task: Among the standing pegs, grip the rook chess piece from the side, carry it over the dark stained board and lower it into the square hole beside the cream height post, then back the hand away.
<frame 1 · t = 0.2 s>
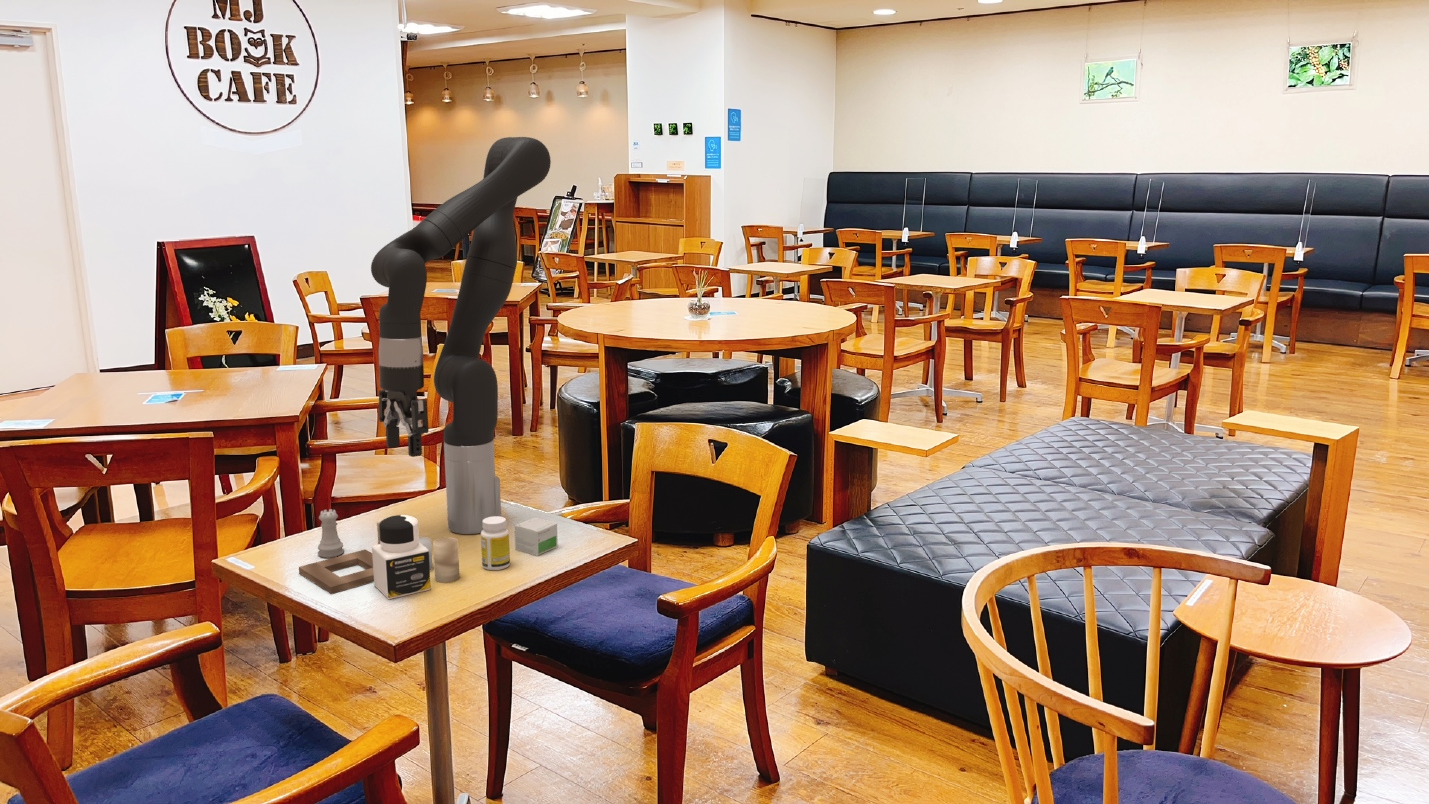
hand: (404, 451, 184), 18 cm above the table, tool pointing down, fingers open, 8 cm apart
supplement bottle: (496, 566, 178), on the table
short grey peg: (420, 568, 176), on the table
medium beech peg: (447, 578, 172), on the table
rook chess piece: (331, 555, 183), on the table
hole board: (349, 573, 174), on the table
medicine bottle: (402, 589, 168), on the table
small box: (536, 550, 186), on the table
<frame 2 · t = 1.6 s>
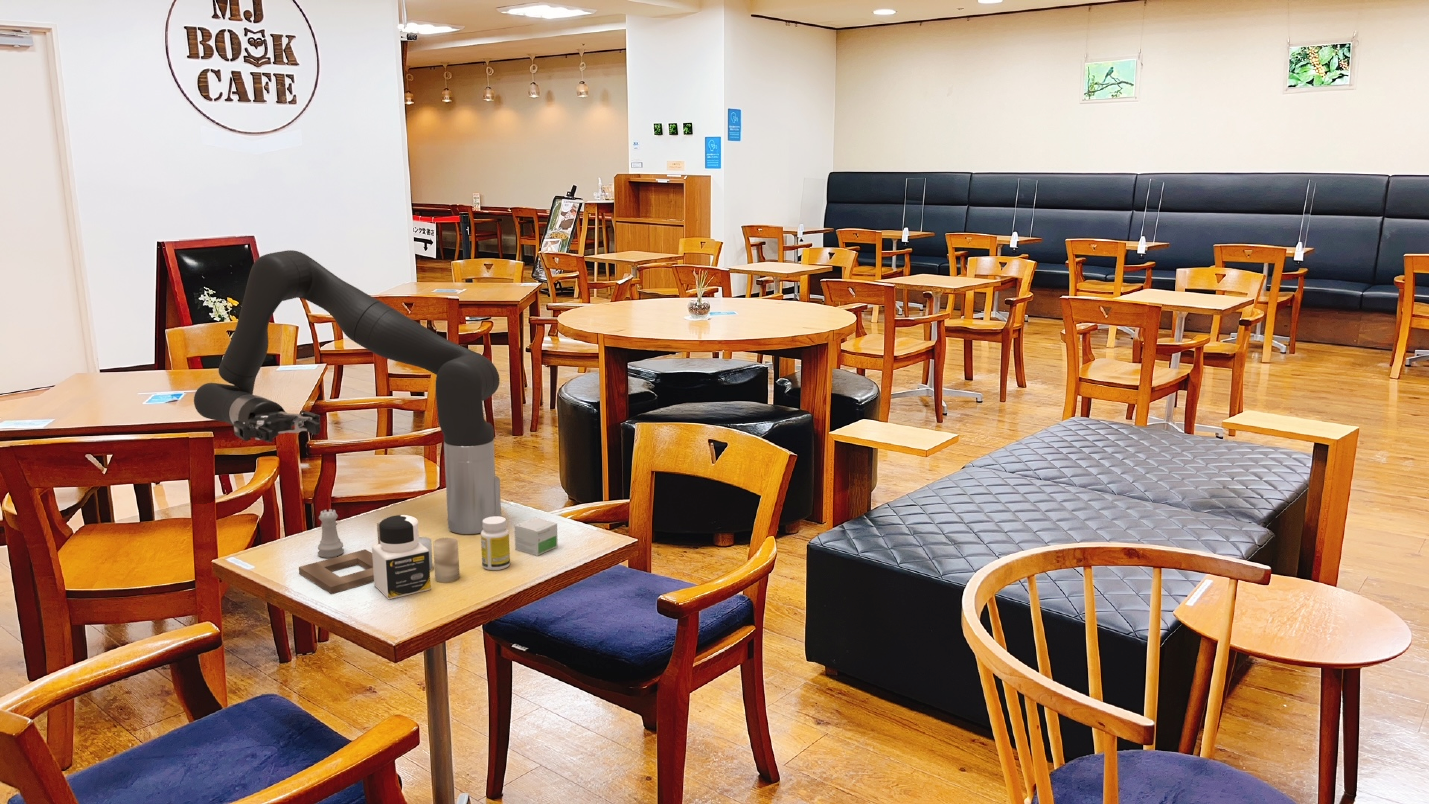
hand: (294, 432, 185), 20 cm above the table, tool horizontal, fingers open, 8 cm apart
nothing on the table moved.
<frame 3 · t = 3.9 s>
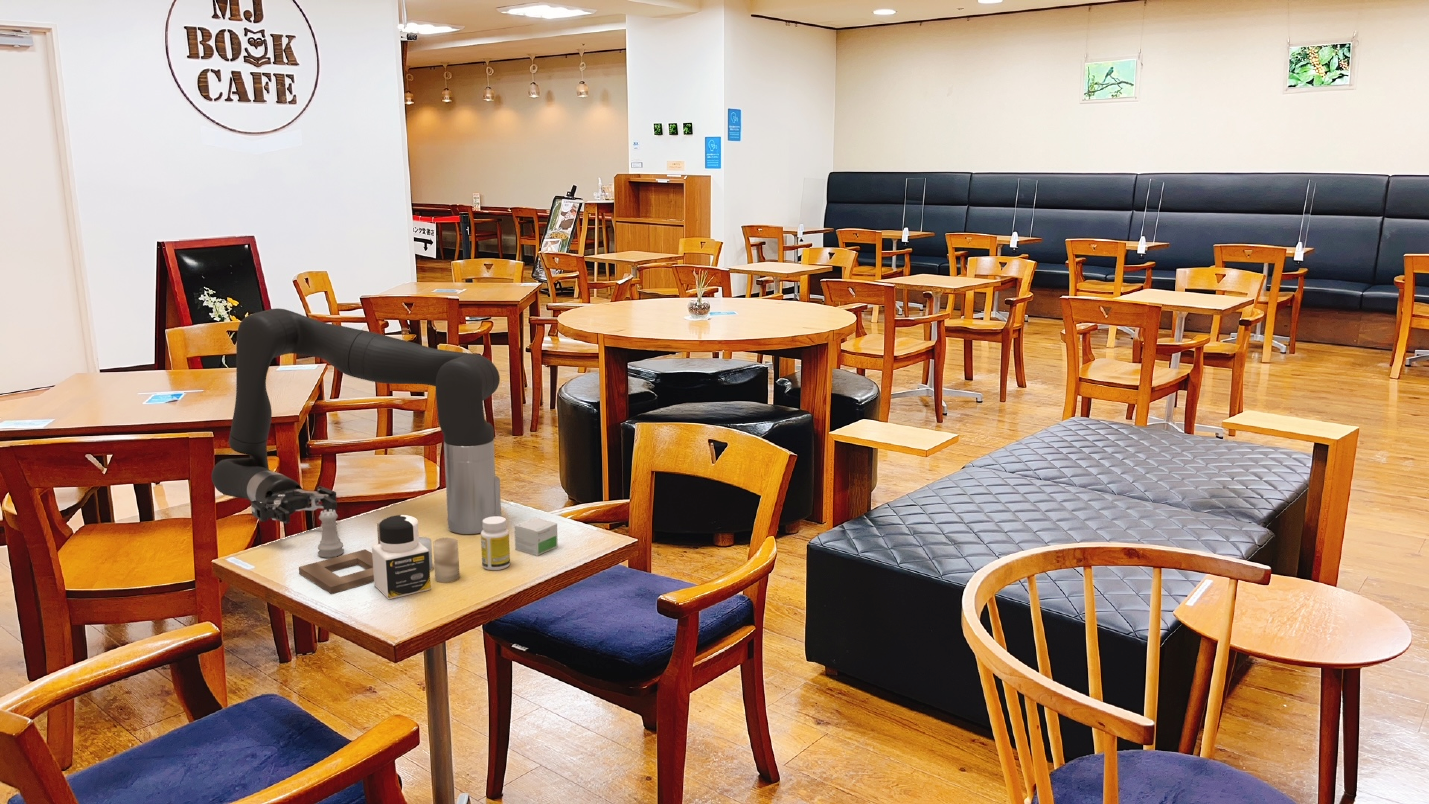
hand: (311, 512, 186), 6 cm above the table, tool horizontal, fingers open, 8 cm apart
nothing on the table moved.
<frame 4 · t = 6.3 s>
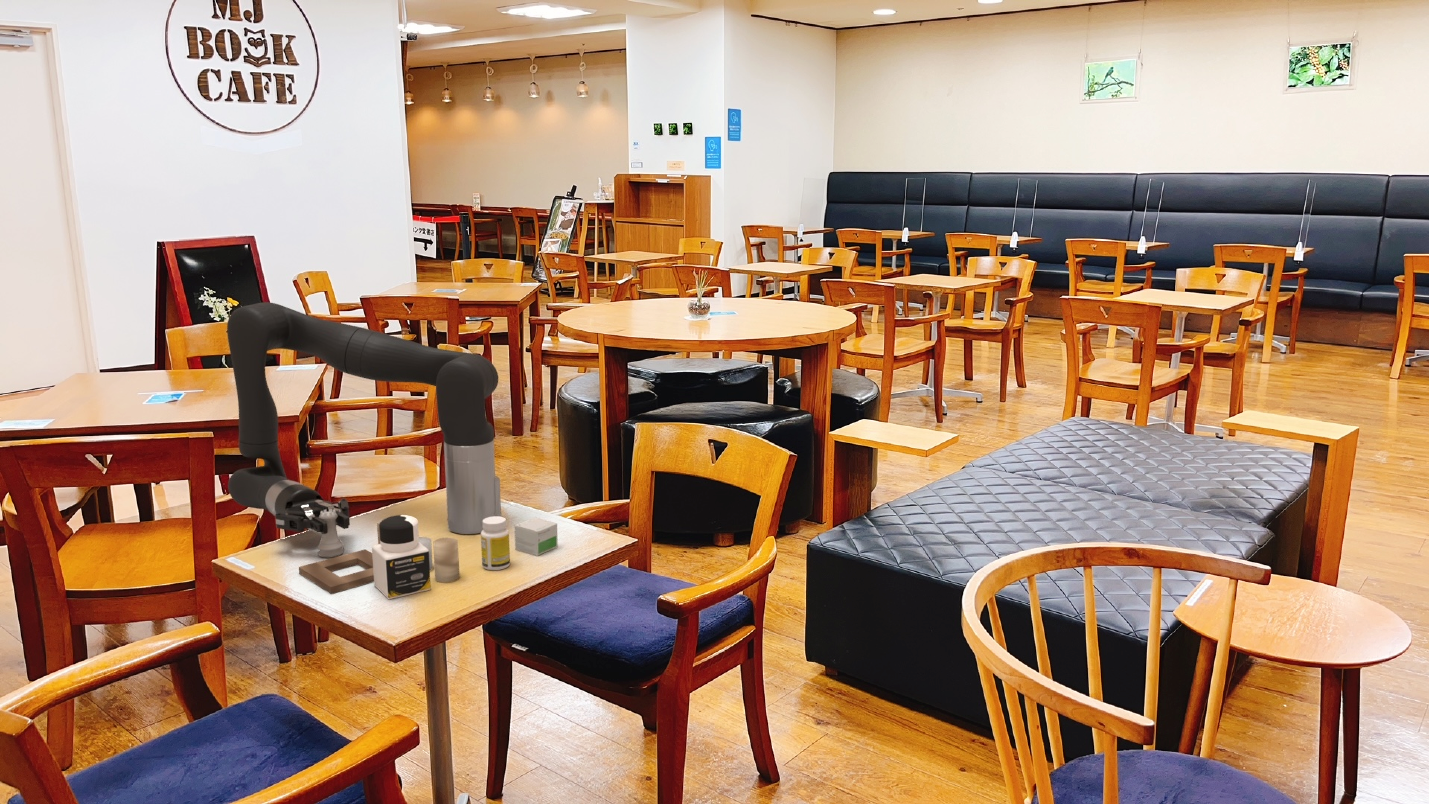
hand: (336, 525, 179), 6 cm above the table, tool horizontal, fingers closed on rook chess piece, 3 cm apart
rook chess piece: (331, 555, 183), on the table, touching gripper
everything else where it was.
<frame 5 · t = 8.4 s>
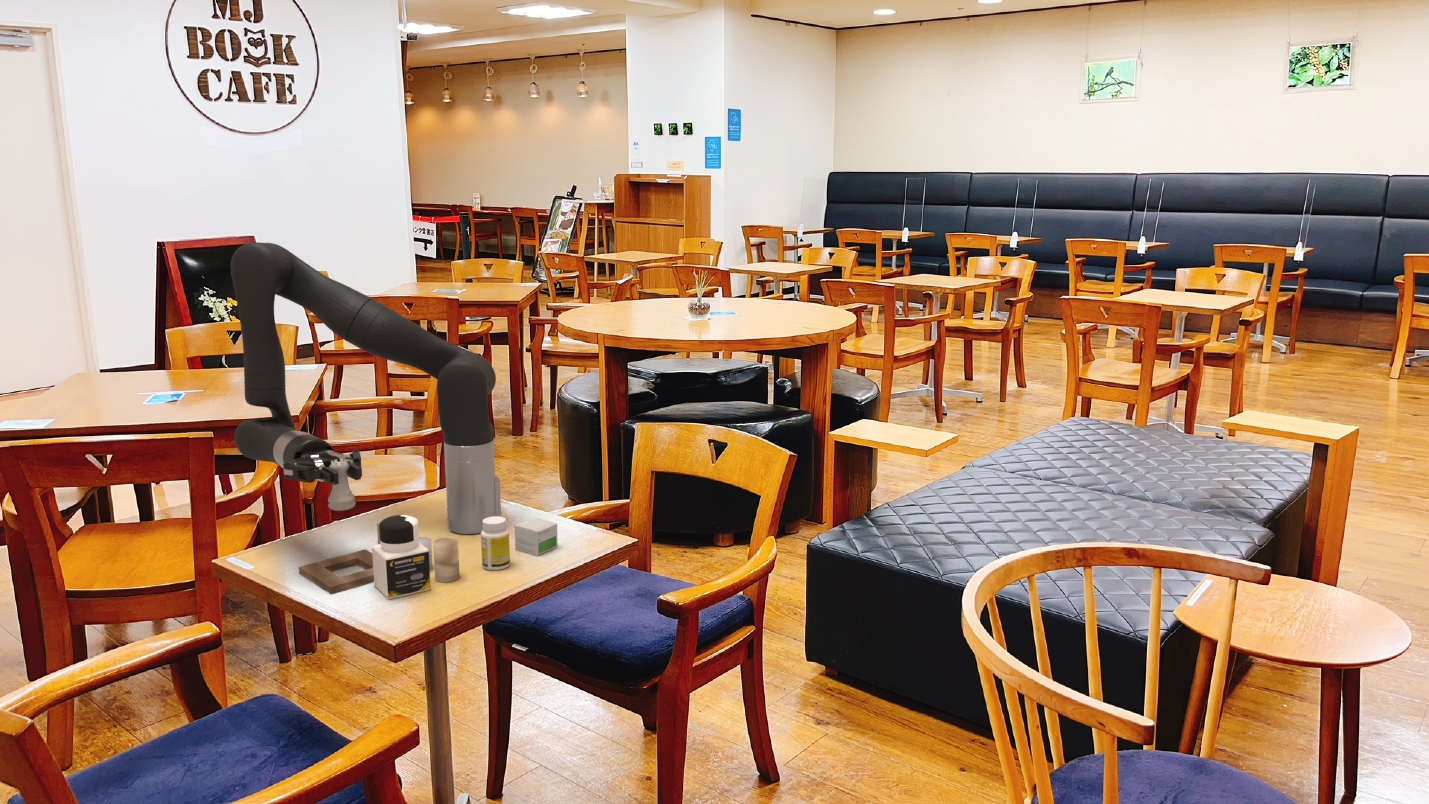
hand: (347, 476, 168), 18 cm above the table, tool horizontal, fingers closed on rook chess piece, 3 cm apart
rook chess piece: (342, 508, 172), point 11 cm above the table, touching gripper
everything else where it was.
when the fingers open (7 cm above the table, at t = 10.8 s): rook chess piece stays where it is, resting in hole board.
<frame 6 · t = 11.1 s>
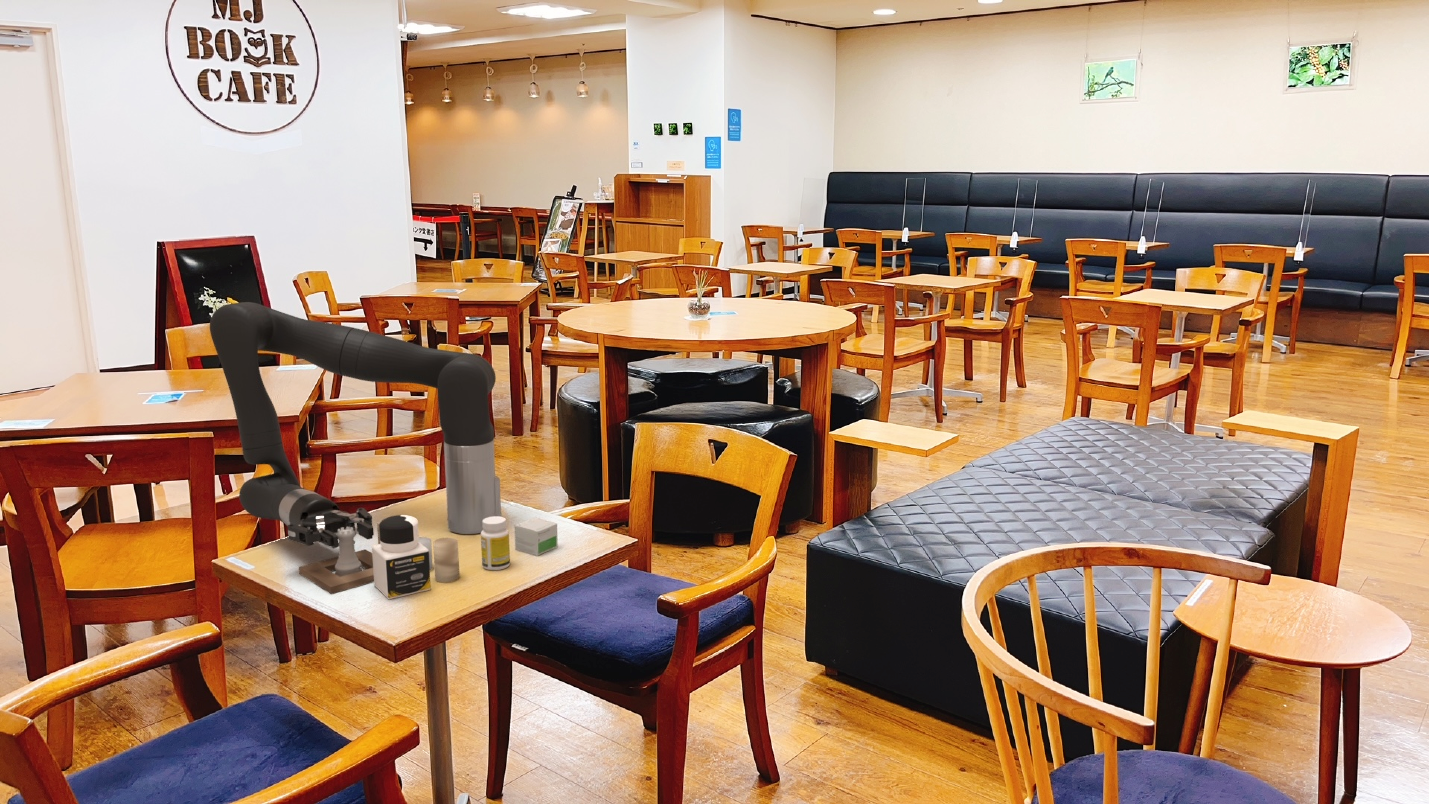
hand: (353, 537, 170), 7 cm above the table, tool horizontal, fingers open, 5 cm apart
rook chess piece: (348, 575, 174), resting in hole board
everything else where it was.
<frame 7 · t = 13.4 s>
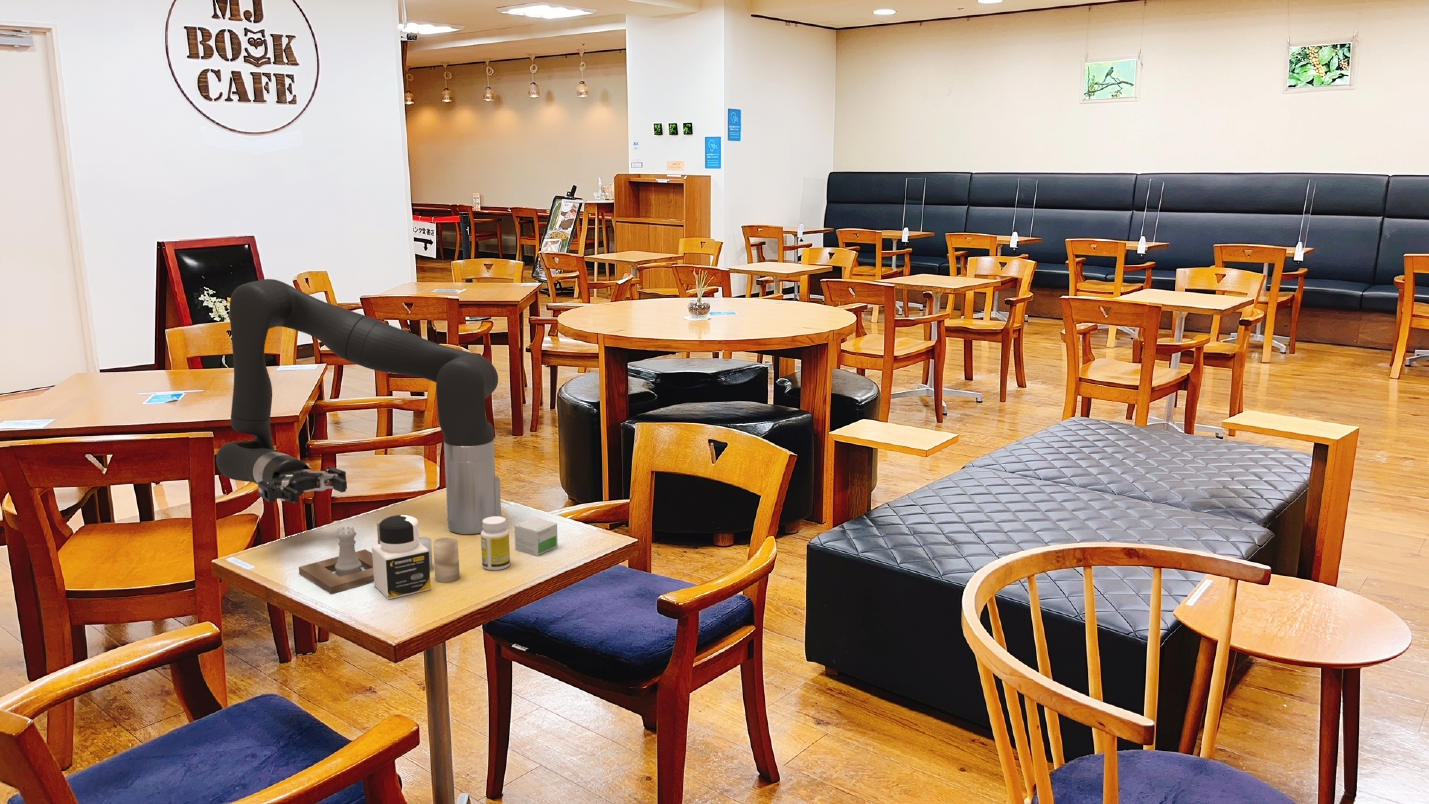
hand: (320, 492, 180), 12 cm above the table, tool horizontal, fingers open, 8 cm apart
nothing on the table moved.
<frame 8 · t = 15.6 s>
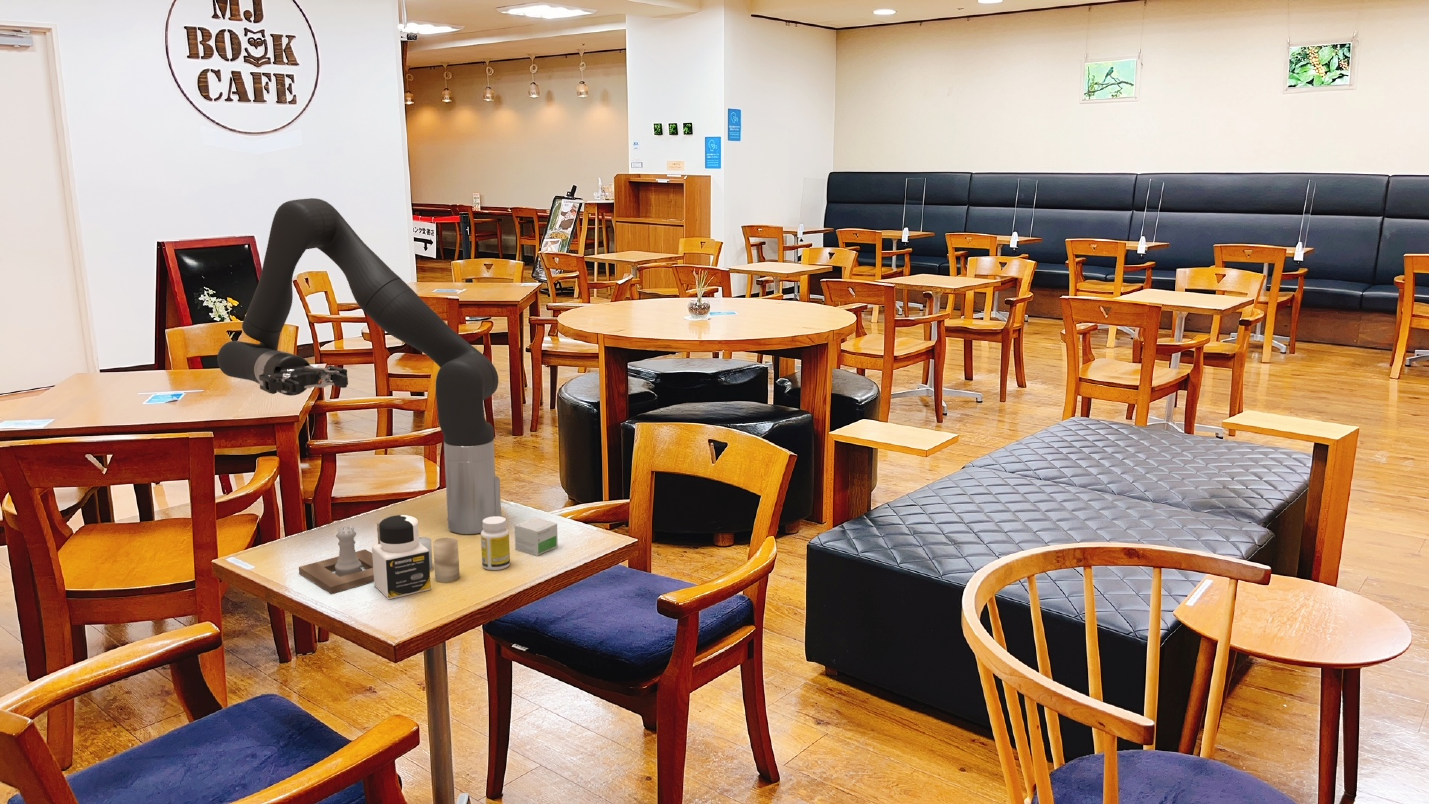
hand: (321, 385, 179), 30 cm above the table, tool horizontal, fingers open, 8 cm apart
nothing on the table moved.
at the end: rook chess piece 0.1 cm off-centre on the hole board, point 0.0 cm above the hole board's base; rook chess piece tilted 0°; the gripper is holding nothing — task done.
